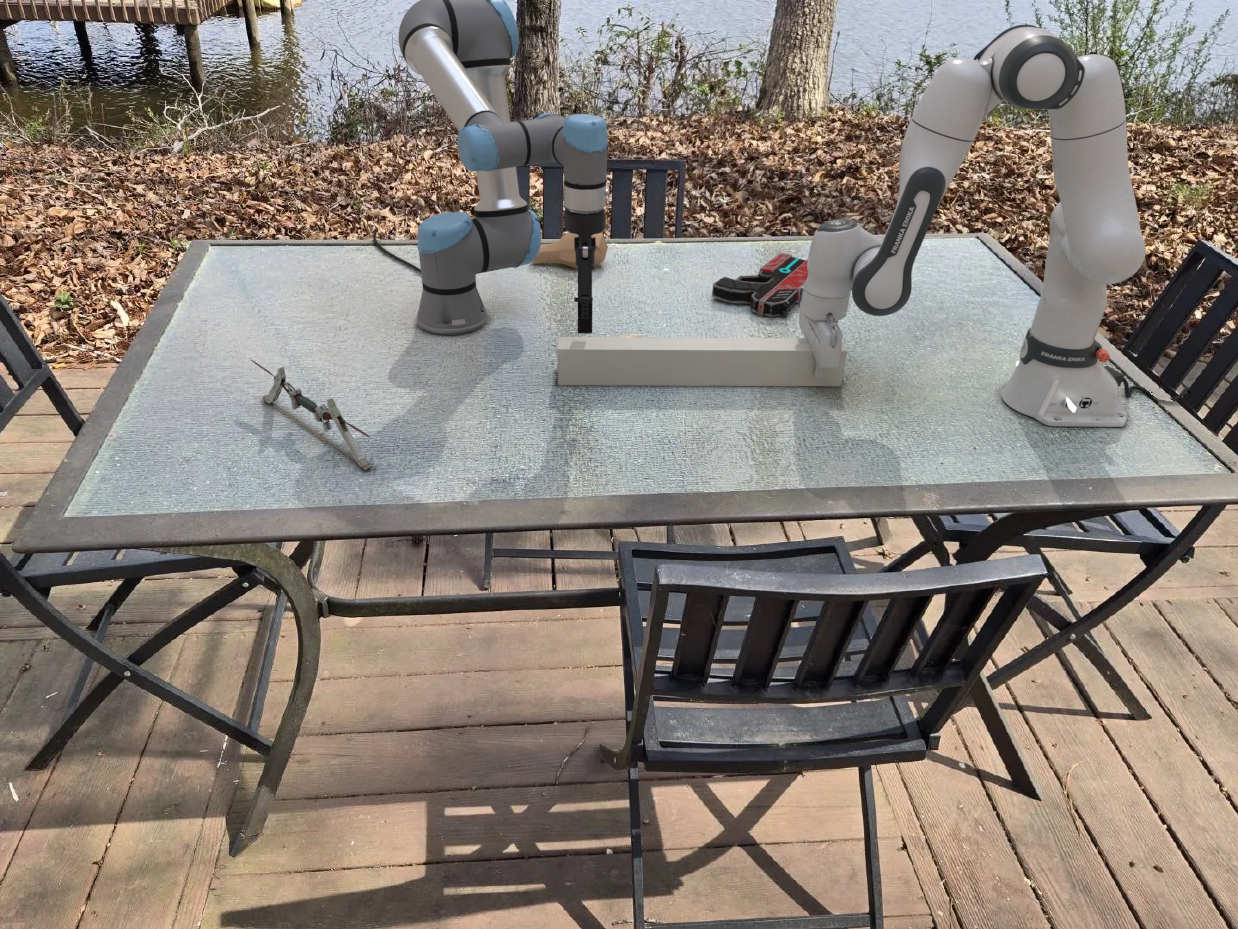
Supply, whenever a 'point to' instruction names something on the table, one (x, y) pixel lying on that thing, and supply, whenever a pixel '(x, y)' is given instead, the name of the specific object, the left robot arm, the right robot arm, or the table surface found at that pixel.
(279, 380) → the bow
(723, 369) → the post
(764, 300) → the gun
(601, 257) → the squash
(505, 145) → the left robot arm
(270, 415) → the table surface
